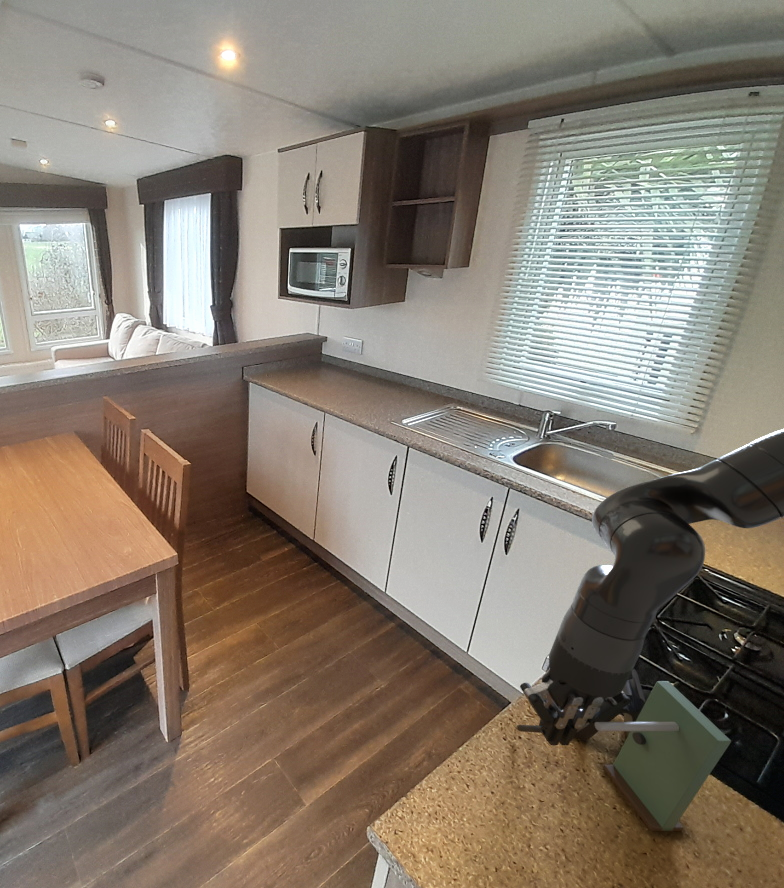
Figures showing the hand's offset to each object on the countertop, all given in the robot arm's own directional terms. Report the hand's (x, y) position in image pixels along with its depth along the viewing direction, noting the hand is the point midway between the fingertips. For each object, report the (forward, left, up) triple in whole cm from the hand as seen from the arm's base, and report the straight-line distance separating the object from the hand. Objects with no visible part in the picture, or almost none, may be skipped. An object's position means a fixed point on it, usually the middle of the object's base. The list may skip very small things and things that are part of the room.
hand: (554, 739), depth 66 cm
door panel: (-7, +2, -7) cm, 11 cm away
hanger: (+1, -3, -2) cm, 4 cm away
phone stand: (-12, -8, -7) cm, 16 cm away
